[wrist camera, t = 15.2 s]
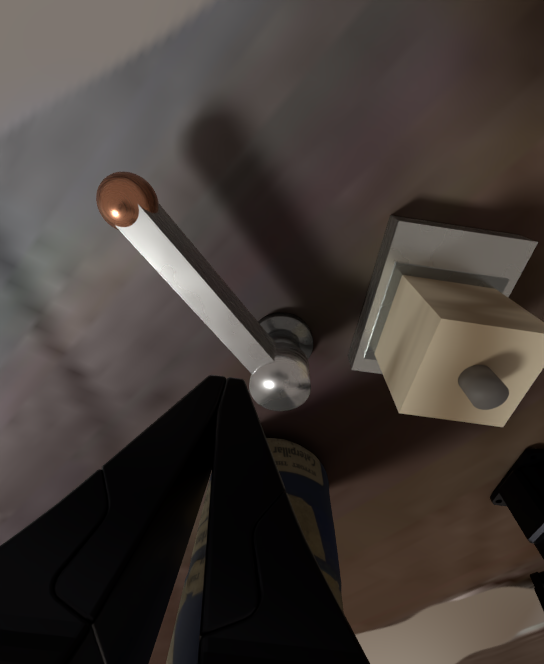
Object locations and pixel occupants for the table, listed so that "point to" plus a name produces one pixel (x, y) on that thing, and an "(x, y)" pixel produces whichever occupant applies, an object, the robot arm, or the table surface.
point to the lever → (204, 291)
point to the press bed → (433, 270)
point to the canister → (316, 523)
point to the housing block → (458, 351)
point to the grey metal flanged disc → (289, 330)
